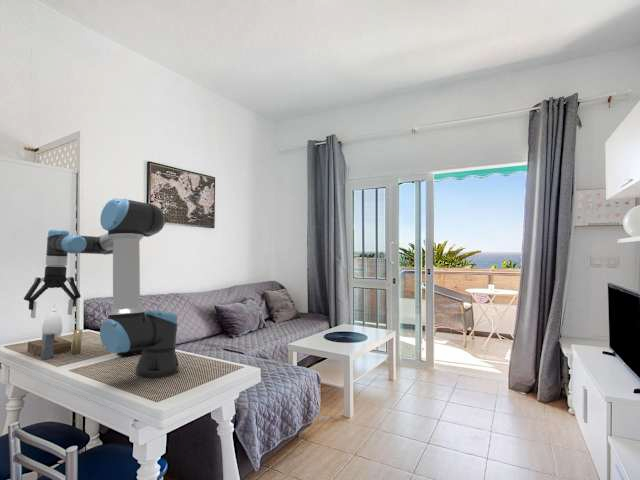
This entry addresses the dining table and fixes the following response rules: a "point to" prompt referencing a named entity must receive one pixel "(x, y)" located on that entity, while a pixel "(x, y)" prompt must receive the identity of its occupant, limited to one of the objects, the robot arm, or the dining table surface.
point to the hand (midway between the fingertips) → (52, 316)
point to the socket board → (59, 346)
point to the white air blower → (53, 323)
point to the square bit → (47, 346)
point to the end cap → (130, 352)
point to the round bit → (77, 342)
